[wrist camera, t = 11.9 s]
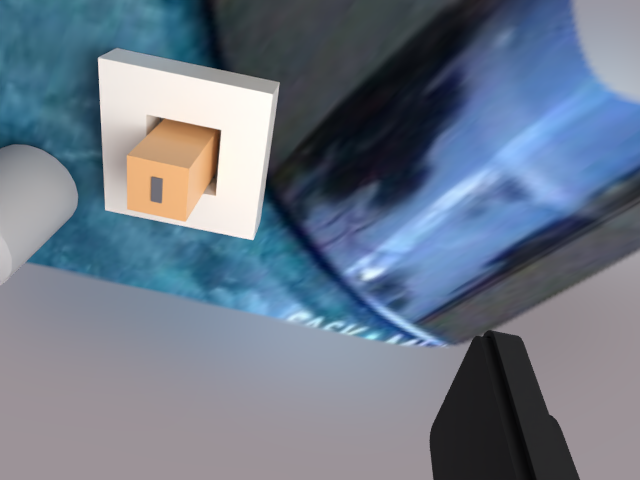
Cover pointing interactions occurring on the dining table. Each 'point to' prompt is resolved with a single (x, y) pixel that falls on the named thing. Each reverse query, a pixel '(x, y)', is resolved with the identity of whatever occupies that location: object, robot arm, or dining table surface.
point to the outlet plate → (195, 108)
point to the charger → (171, 169)
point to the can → (30, 203)
